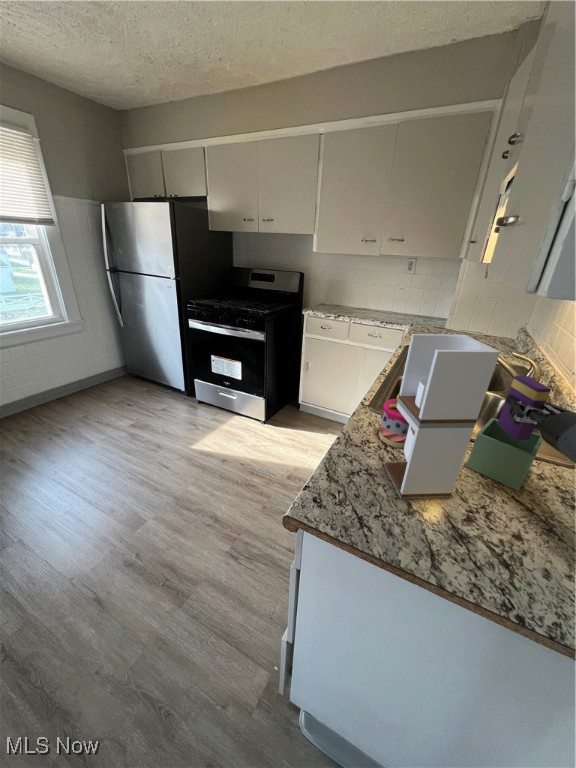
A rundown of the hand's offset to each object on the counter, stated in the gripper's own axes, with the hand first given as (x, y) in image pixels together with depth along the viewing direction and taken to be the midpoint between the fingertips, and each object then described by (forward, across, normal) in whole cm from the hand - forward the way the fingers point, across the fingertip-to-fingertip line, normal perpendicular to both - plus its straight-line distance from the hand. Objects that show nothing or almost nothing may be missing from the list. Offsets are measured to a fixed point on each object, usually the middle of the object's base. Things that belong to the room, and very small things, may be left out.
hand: (514, 397), depth 74 cm
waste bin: (-3, 0, +19) cm, 20 cm away
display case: (-7, +23, +20) cm, 31 cm away
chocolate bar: (-3, 0, +8) cm, 8 cm away
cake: (+10, +21, +20) cm, 31 cm away
